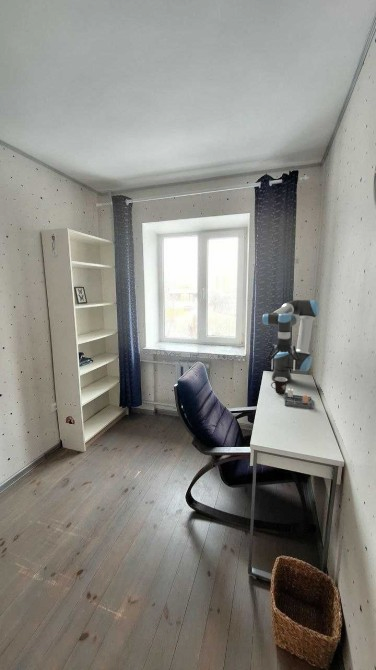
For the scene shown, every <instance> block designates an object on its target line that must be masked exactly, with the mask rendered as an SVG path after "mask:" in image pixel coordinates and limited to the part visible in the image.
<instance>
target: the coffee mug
mask: <svg viewBox="0 0 376 670" xmlns="http://www.w3.org/2000/svg"><path fill="white" fill-rule="evenodd" d="M273 384H274V387H273ZM270 386H271V387H272V389H274V390H275V393H276V394H278V395H286V389H287V386H288V383H287V379H286V378H284V377H276V378H275V381H273V382H271V384H270Z"/></svg>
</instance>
